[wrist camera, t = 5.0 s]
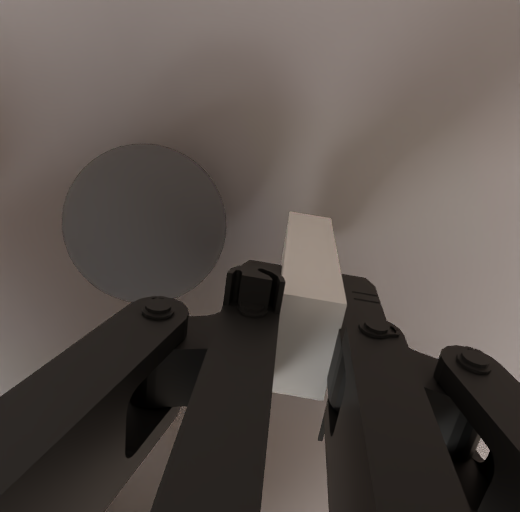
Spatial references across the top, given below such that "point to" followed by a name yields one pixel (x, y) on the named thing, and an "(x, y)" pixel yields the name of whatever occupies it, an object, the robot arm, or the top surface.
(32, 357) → the top surface
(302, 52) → the top surface
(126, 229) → the dark gray ball
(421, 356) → the robot arm
